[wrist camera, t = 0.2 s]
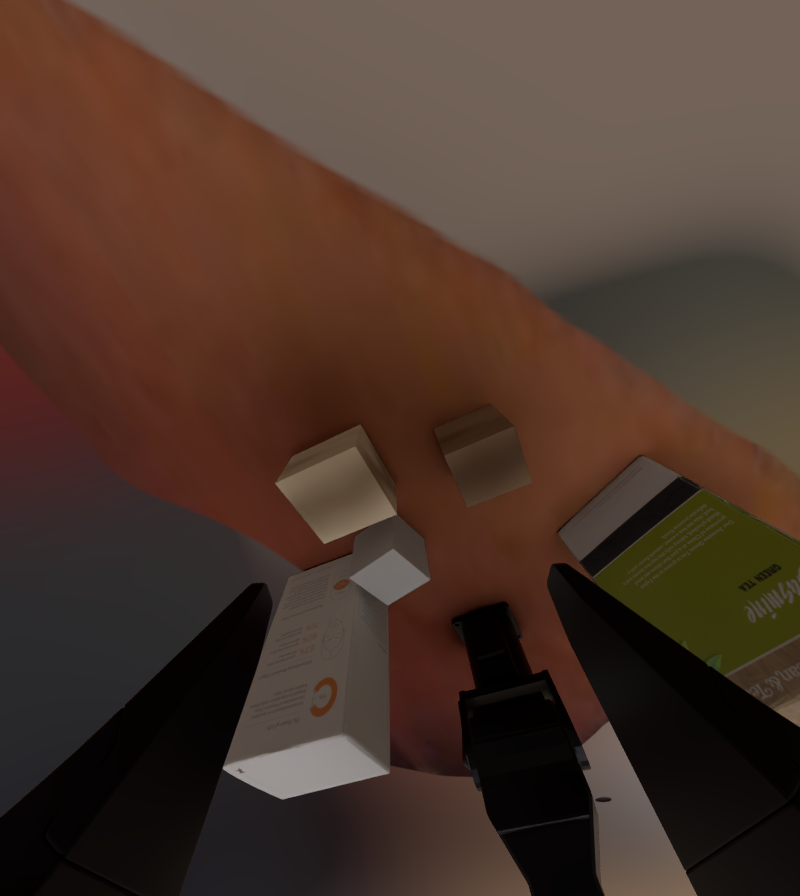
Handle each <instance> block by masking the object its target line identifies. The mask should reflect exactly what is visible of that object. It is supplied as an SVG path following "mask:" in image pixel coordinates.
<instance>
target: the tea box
mask: <svg viewBox="0 0 800 896" xmlns="http://www.w3.org/2000/svg"><path fill="white" fill-rule="evenodd" d="M558 535H559V536H560V537H561V539H562V540H563V541H564V543H565V544H566V546H567V547H568V548H569V550H570V551H571V552H572V554H573V555H574V556H575V558H576V559H577V560H578V561H579V562H580V564H581V565H582V566H583V567H584V569H585V570H586V571H587V572H588V574H589V575H590V577H591V578H592V579H593V581H594V582H595V583H596V584H597V585H598V586H599V587H600V588H602V589H603V590H605V591H606V592H607V593H609V594H610V595H612V596H613V597H614V598H616V599H617V600H619V601H620V602H621V603H623V604H624V605H626V606H627V607H628V608H630V609H631V610H633V611H634V612H635V613H637V614H638V615H640V616H641V617H642V618H644V619H645V620H647V621H648V622H649V623H651V624H652V625H654V626H655V627H656V628H658V629H659V630H661V631H662V632H663V633H665V634H666V635H668V636H669V637H670V638H672V639H673V640H675V641H676V642H678V643H679V644H680V645H682V646H683V647H685V648H686V649H687V650H689V651H690V652H692V653H693V654H694V655H696V656H697V657H699V658H700V659H701V660H703V661H704V662H706V663H707V665H708V666H711V667H713V668H714V669H716V670H717V671H718V672H720V673H721V674H723V675H724V676H725V677H727V678H728V679H730V680H731V681H732V682H734V683H735V684H737V685H738V686H740V687H741V688H742V689H744V690H745V691H747V692H748V693H750V694H751V695H753V696H754V697H755V698H757V699H758V700H760V701H761V702H763V703H764V704H766V705H767V706H769V707H770V708H772V709H773V710H775V711H776V712H778V713H779V714H781V715H782V716H784V717H785V718H787V719H788V720H790V721H791V722H793V723H794V724H796V725H797V726H799V727H800V541H799V540H797V539H796V538H794V537H792V536H790V535H788V534H787V533H785V532H783V531H781V530H780V529H778V528H776V527H774V526H772V525H770V524H769V523H767V522H765V521H763V520H761V519H759V518H757V517H756V516H754V515H752V514H750V513H748V512H746V511H744V510H742V509H741V508H739V507H737V506H735V505H733V504H732V503H730V502H728V501H726V500H724V499H723V498H721V497H719V496H717V495H715V494H713V493H711V492H710V491H708V490H706V489H704V488H703V487H701V486H699V485H697V484H695V483H693V482H692V481H690V480H688V479H686V478H684V477H682V476H680V475H679V474H677V473H675V472H673V471H671V470H669V469H668V468H666V467H664V466H662V465H660V464H658V463H657V462H655V461H653V460H651V459H649V458H647V457H645V456H641V457H638V458H637V459H636V460H635V461H634V462H633V463H632V464H630V465H629V466H628V467H627V468H626V469H625V470H624V471H623V472H622V473H620V474H619V475H618V476H617V477H616V478H615V479H614V480H613V481H612V482H611V483H610V484H608V485H607V486H606V487H605V488H604V489H603V490H602V491H601V492H600V493H599V494H598V495H597V496H595V497H594V498H593V499H592V500H591V501H590V502H589V503H588V504H587V505H586V506H585V507H584V508H582V509H581V510H580V511H579V512H578V513H577V514H576V515H575V516H574V517H573V518H572V519H571V520H570V521H569V522H568V523H567V524H566V525H565V526H564V527H563V528H562V529H561V530H560V531H559V532H558Z"/></svg>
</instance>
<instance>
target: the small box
mask: <svg viewBox="0 0 800 896" xmlns="http://www.w3.org/2000/svg"><path fill="white" fill-rule="evenodd" d="M351 561H352V554H350V555H347V556H345V557H342V558H339V559H336V560H334V561H331V562H328V563H325V564H323V565H320V566H317V567H315V568H312V569H309V570H306V571H304V572H301V573H298V574H296V575H293V576H290V577H289V578H288V581H287V584H286V587H285V589H284V592H283V595H282V598H281V601H280V604H279V606H278V609H277V612H276V615H275V617H274V620H273V623H272V626H271V629H270V631H269V634H268V637H267V640H266V643H265V645H264V648H263V651H262V654H261V656H260V660H259V663H258V666H257V670H256V673H255V676H254V678H253V681H252V684H251V687H250V690H249V693H248V696H247V699H246V702H245V705H244V708H243V711H242V714H241V717H240V719H239V722H238V725H237V728H236V731H235V734H234V737H233V740H232V743H231V746H230V749H229V752H228V755H227V758H226V760H225V763H224V766H223V769H224V770H225V771H227V772H228V773H230V774H232V775H233V776H235V777H237V778H239V779H240V780H242V781H244V782H246V783H248V784H250V785H252V786H254V787H256V788H258V789H260V790H263V791H265V792H267V793H269V794H271V795H273V796H276V797H278V798H280V799H286V798H290V797H294V796H298V795H302V794H306V793H310V792H314V791H318V790H323V789H327V788H331V787H335V786H339V785H343V784H347V783H351V782H355V781H360V780H363V779H368V778H372V777H376V776H380V775H385V774H389V773H390V725H389V635H388V605H386V604H385V603H383V602H382V601H381V600H379V599H378V598H376V597H375V596H374V595H372V594H371V593H369V592H368V591H367V590H365V589H364V588H362V587H361V586H360V585H358V584H357V583H355V582H354V581H353V580H351V579H350V578H349V575H350V568H351Z"/></svg>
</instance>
